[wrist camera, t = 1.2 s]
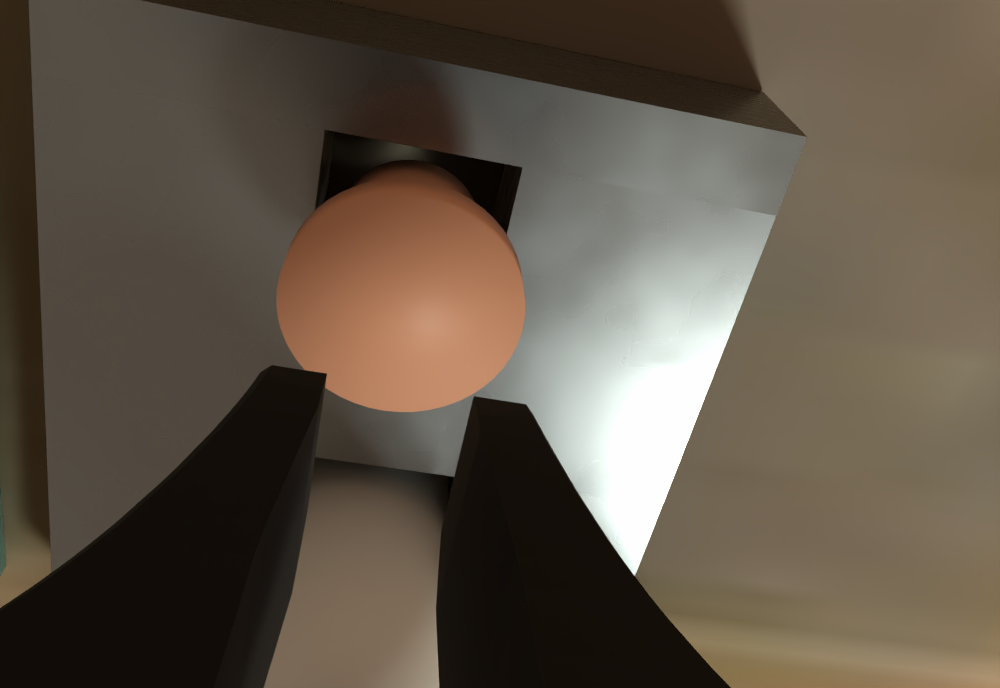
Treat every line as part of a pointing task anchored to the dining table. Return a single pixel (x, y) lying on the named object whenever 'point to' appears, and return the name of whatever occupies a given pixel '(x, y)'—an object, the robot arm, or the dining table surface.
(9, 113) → the dining table surface
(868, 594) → the dining table surface
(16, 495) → the dining table surface
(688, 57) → the dining table surface
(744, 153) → the housing
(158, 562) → the robot arm
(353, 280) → the plunger
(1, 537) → the mat
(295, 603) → the cylinder
